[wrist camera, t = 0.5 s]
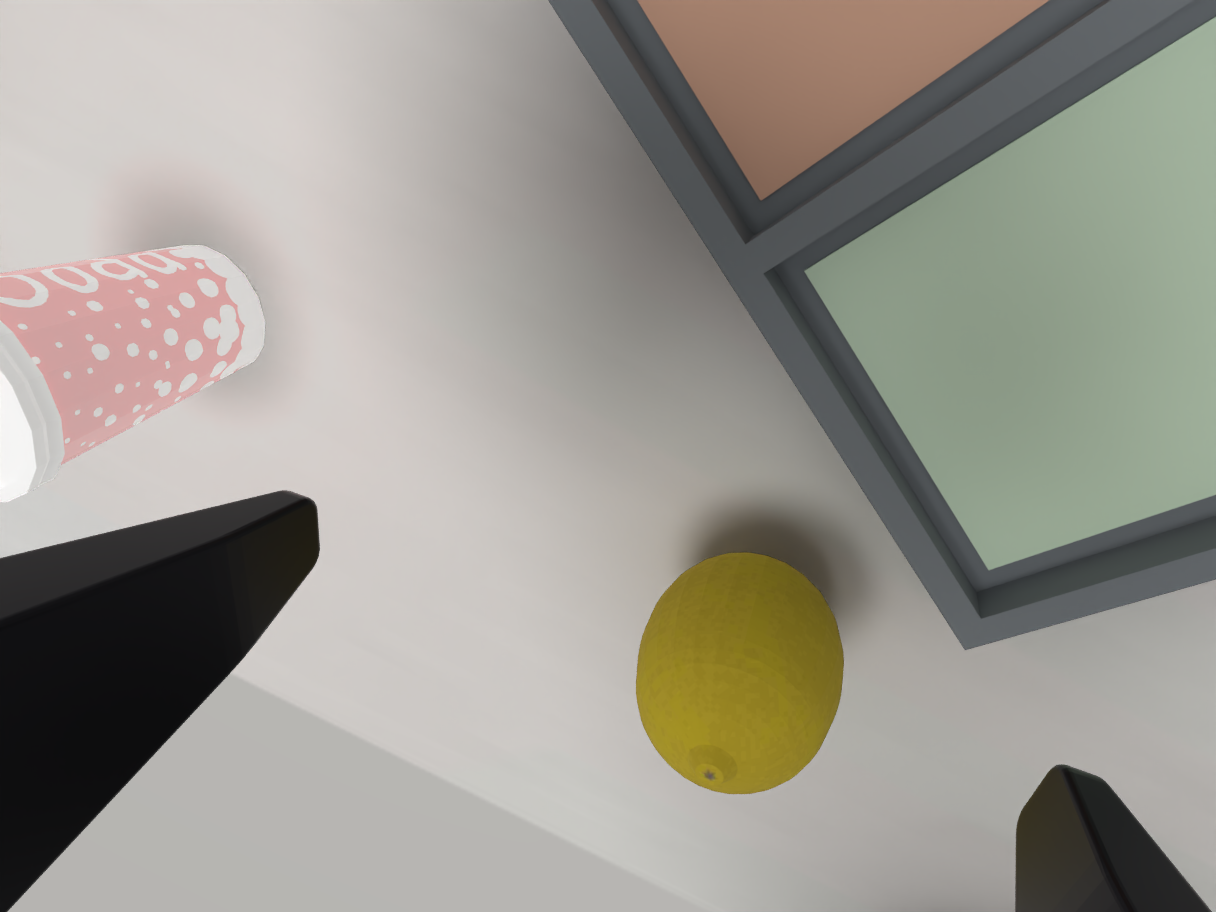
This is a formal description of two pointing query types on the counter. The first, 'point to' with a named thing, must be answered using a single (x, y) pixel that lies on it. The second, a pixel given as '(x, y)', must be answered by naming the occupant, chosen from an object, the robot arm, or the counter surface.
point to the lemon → (739, 673)
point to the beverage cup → (112, 349)
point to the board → (965, 265)
